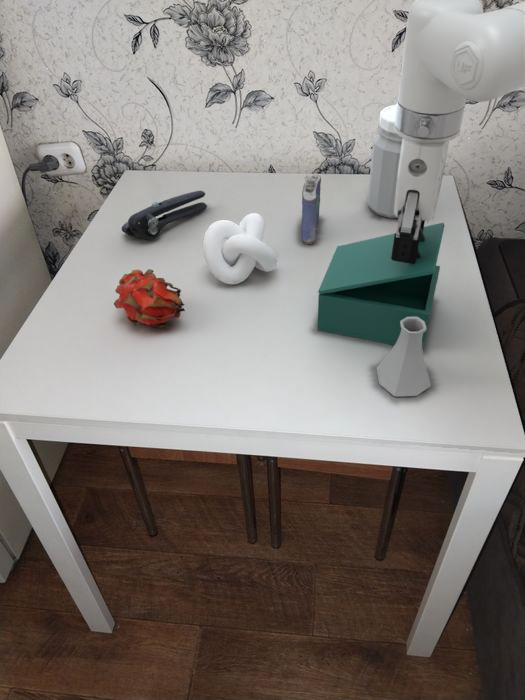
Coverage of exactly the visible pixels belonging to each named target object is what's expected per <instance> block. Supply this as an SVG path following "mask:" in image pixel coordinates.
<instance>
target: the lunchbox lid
mask: <svg viewBox="0 0 525 700" xmlns="http://www.w3.org/2000/svg"><path fill="white" fill-rule="evenodd" d="M421 223H422V219H421ZM415 226H416V221H415V220H414V221H413V227H415ZM444 231H445V223H444V222H439V223H434V224H431V225H426V226H425V225H424V229H423V231H422V228H421V224H420V229H419V234H418V236H419V237H420V241H419V246H418V252H417V257H416V262H415V263H414V264H410V263H404V262H398V261H393V260H392V259H391V256H392V249H393V242H394V235H395V233H396V232H394V233H391V234H386V235H381V236H377V237H373V238H368V239H363V240H359V241H355V242H350V243H347V244H342V245H337V246H336V248H335V250H334V253H333V255H332V258H331V260H330V262H329V265H328V267H327V270H326V272H325V274H324V276H323V279H322V281H321V283H320V286H319V289H318V291H317V293H318V295H319V294H326V293H331V292H336V291H342V290H347V289H353V288H358V287H364V286H369V285H375V284H380V283H386V282H391V281H397V280H402V279H408V278H413V277H419V276H424V275H430V274H434V273H435V268H436V266H437V263H438V258H439V254H440V249H441V244H442V239H443V234H444Z"/></svg>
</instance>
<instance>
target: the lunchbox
mask: <svg viewBox="0 0 525 700" xmlns="http://www.w3.org/2000/svg"><path fill="white" fill-rule="evenodd" d="M440 270H441V265H436V268H435V273H434V274H430V275H424V276H419V277H413V278H408V279H402V280H397V281H391V282H386V283H380V284H375V285H369V286H364V287H358V288H353V289H347V290H342V291H336V292H331V293H326V294H319V293H318V304H317V327H316V328H317V329H316V330H317V331H320V332H325V333H329V334H334V335H335V334H336V335H340V336H345V337H351V338H356V339H359V340H360V339H361V340H365V341H371V342H376V343H381V344H385V345H392V346H394V345H395V344H396V342H397V340H398V338H399V335H400V333H401V325H400V321H401V320H403V319H404V318H406V317H419V318H420V319H421V320H423V321H424V322H425V325H426V328H427V329H426V331H425V332H423V336H422V351H423V350H424V347H425V341H426V336H427V331H428V326H429V324H430V323H429V322H430V318H431V313H432V309H433V304H434V299H435V293H436V289H437V284H438V279H439V276H440V275H439V274H440Z"/></svg>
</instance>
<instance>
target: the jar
mask: <svg viewBox="0 0 525 700" xmlns="http://www.w3.org/2000/svg"><path fill="white" fill-rule="evenodd" d="M396 108H397V103H396V104H393V105H388V106H386V107H384V108H383V109H382V110H380V112H379V120H378V122H379V126H378V127H377V129H378V132H377V133H376V134H375V135H374V137H373V140H372V150H371V159H370V169H369V180H368V191H367V204H368V206H369V208H370V210H372V211H373V212H374V213H375V214H377V216H380V217H384V218H387V219H399V216H398V217H396V216H395V214H394V204H395V193H396V184H397V175H398V167H399V160H400V152H401V145H402V139H403V138H402V137H400V136H399V135H397V134H396V132H395V131H394V123H395V116H396Z"/></svg>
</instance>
